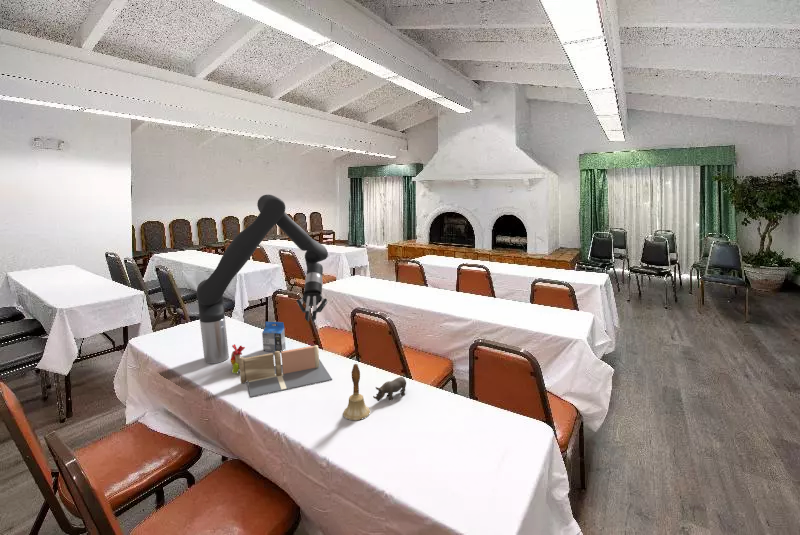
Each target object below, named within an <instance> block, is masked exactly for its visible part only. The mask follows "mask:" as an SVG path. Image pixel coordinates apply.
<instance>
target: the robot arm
mask: <svg viewBox="0 0 800 535" xmlns="http://www.w3.org/2000/svg"><path fill="white" fill-rule="evenodd" d="M256 204H257V205H256V206H257V209H258V212H259V213H258V215H257V216H256V218H255V219H254V220H253V222H252V223H251V224H250V225H248V226H247V227H246V228H245V229H243V230H242V231H241V232H239V233H238V234H237V235H236V236H235V237H233V239H232V241H231V242H230V243H229V245H228V246H227V248H226V249H225V251H224V253H223V254H222V256H221V258H220V260H219V263H218V264H217V266H216V268H215V270H214V271H213V272H212V273H211V274H210V275H209V277H208V278H207V279H205V280H204V279H203V280H202V281H200V283H199V284H198V285H197V288H196V294H195V295H196V299H197V304H198V316H199V322H200V323H199V325H200V333H201V340H202V341H201V342H202V350H203V357H204V362H205V363H206V364H207V363H208V364H218V363H221V362H224V361H226V360H228V359H229V358H230V354H229V353H230V352H229V345H228V334H227V327H226V326H227V325H226V315H225V314H226V313H225V307H224V306H225V305H224V299H223V298H224V297H223V295H224V293H225V291H227V288H228V287H229V285H230V284H231V282H232V280H233V279H234V277H235V276H236V275H237V274H238V273H239V272H240V271H241V270H242V268H244V266H245V265H246V263H247V262H248V261H249V259H250V258H251V257H252V256H253V254H254V253H255V251H256V250H257V248H258V247H259V245H260V244H261V243H262V241H263V240H264V239H265V237H266V236H267V235H268V233H269V232H270V231H271V229H273V227H274V226H278V227H279V229H280V230H282V232H283V233H284V234H285V235H286V236H287V237H288V238H289V239H290V240H291V242H293V243H294V245H296V246H297V248H298V249H299V250H301V251H305V253H304V259H305V260H304V261H305V264H306V276H305V279H304V280H305V281H304V289H303V295H302V297H301V298H300V299H298V298H297V299H296V303H297V305H298V307H299V308H300V310H301V312H302V313H305V316H304V319H305V321H306V322H308V323H309V322H310V316H311V321H312V322H315V321H317V315H318V313H322V312H323V310H324V308H325V307H326V306H327V304H328V299H327V298H324V297H323V294H322V293H323V284H324V283H323V282H324V281H323V273H324V268H323V265H322V264H321V263H320V262H322V261H325V260H327V259H328V257H329V253H328V250H327V248H326V247H325V246H324V245H323V244H322V243H320V242H319V241H317V240H315V239H314V238H312V237H311V236H310V235H309V234H308V233H307V231H305V230H304V229H303V227H301V226H300V225H299V224H298V223H297V222H296V221H294V220H293V219H292V218H291V217H290V216H289V215H288V214H287V213H286V204H285V201H284V200H283V199H281V198H280V197H277V196H276V195H272V194H264V195H262V196H260V197H259V198H258V200H257V203H256ZM304 303H305V307H304V305H303V304H304ZM318 305H319V306H318ZM311 307H313V308H312V309H313V310H312V314H310V311H311Z"/></svg>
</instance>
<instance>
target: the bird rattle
mask: <svg viewBox="0 0 800 535" xmlns="http://www.w3.org/2000/svg"><path fill="white" fill-rule="evenodd" d="M231 347H232V348H233V349H234V350H233V351H232V353H231V356H230V364H231V369H232V370H231V371H232V372H231V373H232V374H235V375H237V374H238V372H240V368H239V358H240V357H241V356H242V355H243V353H242V351H244V349H245V348H246V347H245V346H243V345H239V346H238V347H237V345H236V344H232V346H231Z"/></svg>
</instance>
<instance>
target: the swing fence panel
mask: <svg viewBox="0 0 800 535" xmlns="http://www.w3.org/2000/svg"><path fill="white" fill-rule="evenodd" d="M319 352H320V351H319V345H317V344H316V345H310V346H306V347H299V348H292V349H287V350H284V351H281V352H280V356H281V365H282V368H283V374H286V373H291V372H296V371H301V370H306V369H311V368H318V367H319V359H320V353H319Z"/></svg>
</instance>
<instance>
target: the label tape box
mask: <svg viewBox="0 0 800 535" xmlns="http://www.w3.org/2000/svg"><path fill="white" fill-rule="evenodd" d="M264 324H265V327H264V329H263V331H262V332H261V334H262V350H265V351H264V352H275V351H283V350H284V349H285V350H286V349H287V347H286V337H285V334H286V332H285V325H284V321H265V323H264ZM285 350H284V351H285Z"/></svg>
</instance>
